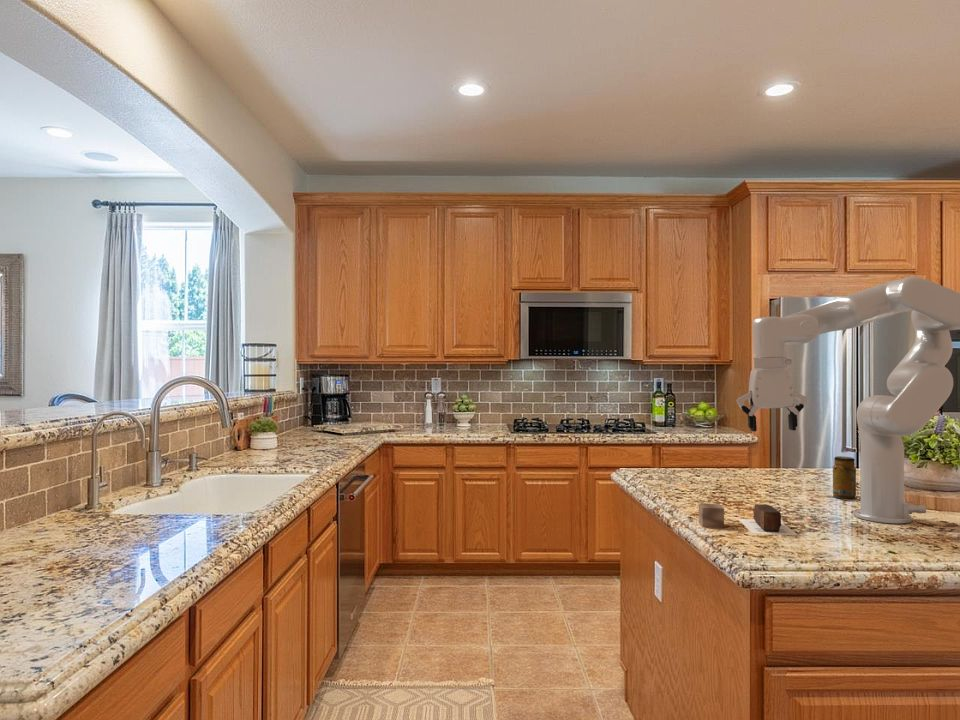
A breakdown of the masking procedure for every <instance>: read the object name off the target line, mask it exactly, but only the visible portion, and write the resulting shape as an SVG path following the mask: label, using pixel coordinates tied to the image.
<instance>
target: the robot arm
mask: <svg viewBox="0 0 960 720" xmlns="http://www.w3.org/2000/svg"><path fill="white" fill-rule="evenodd" d="M905 312H907V313H908V312H911V315H910V318H911V319H910V320H911V323H912V326H913V329H914V332H915V339H914V343H913V344H912V346H911V348H910V349H909V351H908V352H907V353H906V354H905V356H904V357H903V358H902V359H901V360H900V361H899V363H898V364H897V365H896V367H894V369H893V370H892V371H891V373H889V375H888V377H887V380H886V387H887V390H888V391H889V393H891V394H892V395H885V394H884V395H881V394H879V395H877V394H876V395H871V396H868V397H866V398H864V399H863V400H861V402H860V403H859V404H858V406H857V409H856V423H857V428H858V433H859V441H860V498H861V500H860V508H857V509H854V510H853V516H854V517H857V518H859V519H861V520H865V521H870V522H876V523H883V524H909V523H911V522H912V521H913V517H912V514H913V513H914V514H915V513H917V514H926V513H927V507H926V506H925V505H915V504H910V502H906V501H905V447H904V446H905V445H904V442H903V439H902V437H904V436H905V437H908V436H912V435H914V434H917V433H919V432H920V431H921V430H922V429H923V428H924V427H925V426H926V425H927V424H928V423H929V422H930V421H931V419H932V418H933V417H934V416H935V415H936V414H937V412H938V411H939V409H940V408H941V407H942V406H943V405H944V404H945V402H947V400H948V399H949V397H950V395H951V394H952V391H953V388H954V377H953V374H952V373H951V371H950V370H949V368H947V367H946V365H947V364H948V362H949V361H950V359H951V357H952V354H953V341H952V337H951V332H950V331H957V330H960V292H958V291H955V290H954V289H951V288H948V287H946V286H944V285H941V284H939V283H936V282H933V281H931V280H929V279H926V278H923V277H919V276H908V277H903V278H900V279H895V280H888V281H886V282H884V283H883V282H882V283H881V284H880V283H879V284H878V285H874V286H871V287H869V288H866V289H863V290H860V291H857V292H853V293H850V294H847V295H844V296H842V297H839V298H838V297H837V298H836V299H833V300H830V301H828V302H826V303H823V304H822V303H821V304H819V305H816V306H814V307H810V308H807V309H804V310H801V311H799V312H795V313H792V314H788V315H786V316H783V317H780V316H763V317H762V316H761V317H757V318H755V319H753V321H752V326H751V327H752V347H753V368H754V370H750V374H749V380H748V381H749V383H748V392H747V393H746V394H743V395H741V396H740V397H738V398H737V399H736V400H735V401H736V403H737V405H738V406H739V408H740V410H741V411H742V412H743V413H745V415H746V416H747V426H748V429H749V430H750V431H751V432H753V433H754V432H757V429H758V427H757V416H755V414H756V412H758V410H759V409H786V410H787V411H788V412H789V413H788V414H787V418H788V419H787V421H788V430H790V431H796V430H797V427H798V415H799V414H800V412H801V411H802V410H803V409H804V408H805V405H806V403H807V401H808V397H807V396H805V395H804V394H801V393H799V392H796V391H794V387H793V381H792V380H793V379H792V377H791V372H790V369H788V368H787V367H788V366H789V365H792V359H790V358H788V357H786V345H802V344H808V343H812V342H813V341H815V340H816V339H817V338H818V336H819V335H822V334H826V333H831V332H837V331H838V332H839V331H844V330H845V331H846V330H849V329H853V328H859V327H861V326H864V325H867V324H870V323H872V322H873V323H874V322H875V321H879V320H882V319H885V318H887V317H890V316H894V315H896V314H900V313H905ZM795 399H797V400H798V403H797V404H796V405H795V406H794V404H795ZM747 400H748V405H749V408H748V407H747V406H746V404H745V401H747Z"/></svg>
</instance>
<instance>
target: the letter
mask: <svg viewBox="0 0 960 720" xmlns="http://www.w3.org/2000/svg"><path fill="white" fill-rule="evenodd" d="M738 521H739V522H740V523H741V524H742V525H743V526H744V527H745V528H746V529H747V530H748V531H749V532H750V533H751V534H759V535H761V534H763V535H765V534H766V535H783V536H784V535H787V536H798V534H797V533H796V532H794V530H792V529H791V528H790V527H788V526H787V525H786V524H785V523H783V522H782V521H781V526H780V529H779V532H776V531H764V530H763V529H762V528H761V527H760V526H759V525H758V524H757V523H756V522H755V520H754V518H753V519H752V518H748V519H747V518H746V519H745V518H738Z"/></svg>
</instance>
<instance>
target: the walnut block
mask: <svg viewBox="0 0 960 720" xmlns="http://www.w3.org/2000/svg"><path fill="white" fill-rule="evenodd" d="M698 523H699V525H700V527H702V528H713V529H715V528H719V529H725V508H724V507H723V505H721V504H720V503H705V502H704V503H701V502H699V503H698Z"/></svg>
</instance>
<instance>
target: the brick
mask: <svg viewBox="0 0 960 720" xmlns="http://www.w3.org/2000/svg"><path fill="white" fill-rule="evenodd" d="M752 511H753V517H752V518H753V519H754V520H755V522H756V523H757V524H758V525H759V526H760V527H761V528H762V529H763V530H764V531H776V532H779V529H780V526H781V522H782V515H781V512H780V511H778V509H776V508H775V507H773V506H772V505H769V504H760V503H759V504H757V503H755V504H754V508H753V510H752Z"/></svg>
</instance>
